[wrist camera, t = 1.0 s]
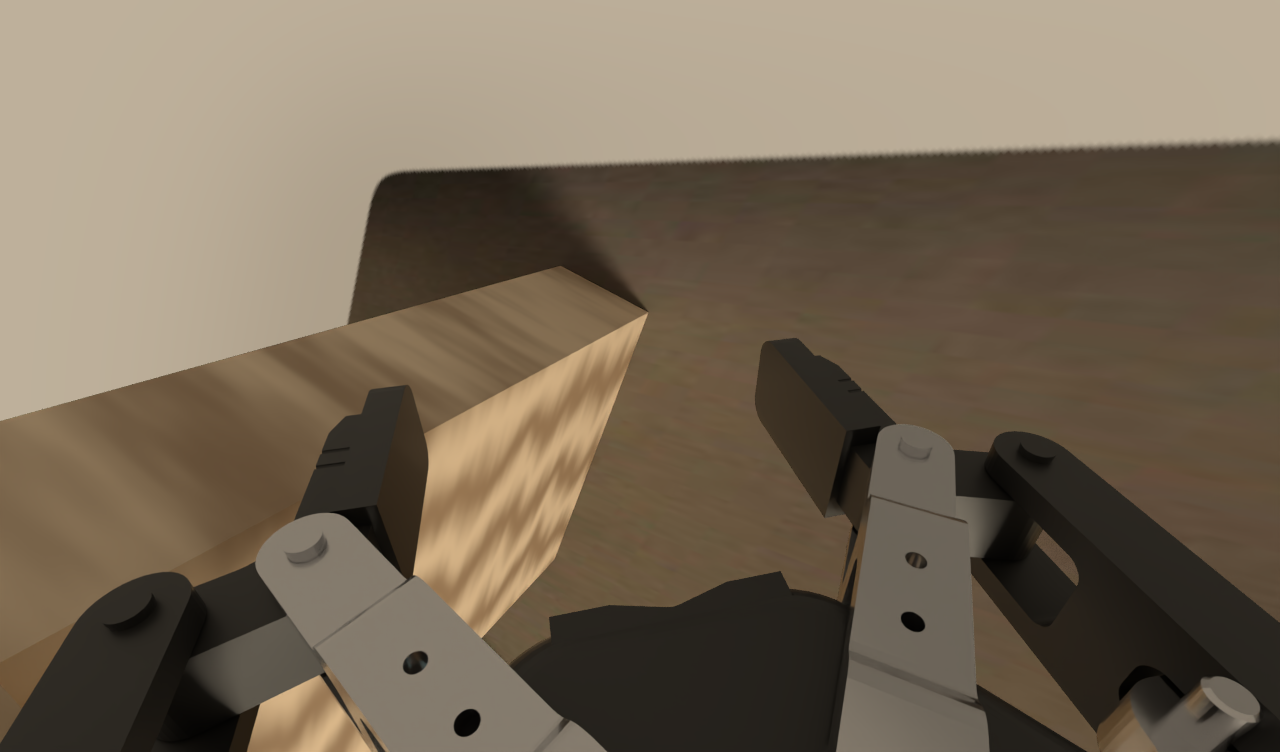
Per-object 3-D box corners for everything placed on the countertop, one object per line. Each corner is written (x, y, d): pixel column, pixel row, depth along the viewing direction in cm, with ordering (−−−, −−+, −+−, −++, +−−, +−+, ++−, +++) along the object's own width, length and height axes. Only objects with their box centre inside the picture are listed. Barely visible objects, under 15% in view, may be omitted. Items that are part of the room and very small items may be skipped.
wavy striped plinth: (604, 604, 46) (150, 1236, 19) (483, 519, 49) (-55, 956, 22) (730, 338, 34) (-57, 1056, 7) (558, 248, 37) (-453, 480, 10)
